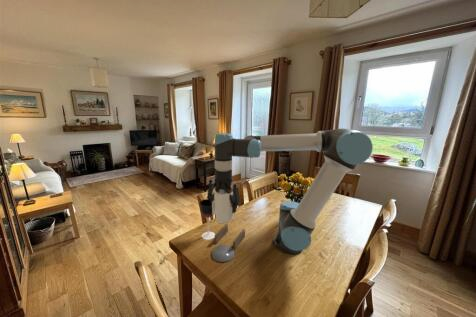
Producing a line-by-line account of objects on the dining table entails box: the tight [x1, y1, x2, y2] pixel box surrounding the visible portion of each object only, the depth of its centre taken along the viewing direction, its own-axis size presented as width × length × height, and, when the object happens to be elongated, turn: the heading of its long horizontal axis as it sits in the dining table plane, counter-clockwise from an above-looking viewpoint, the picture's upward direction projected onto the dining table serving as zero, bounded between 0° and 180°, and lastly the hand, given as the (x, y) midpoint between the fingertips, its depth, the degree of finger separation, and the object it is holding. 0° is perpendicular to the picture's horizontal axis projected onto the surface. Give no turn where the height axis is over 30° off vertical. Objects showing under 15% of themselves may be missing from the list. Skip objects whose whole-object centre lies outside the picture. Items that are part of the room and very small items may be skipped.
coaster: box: [211, 244, 235, 263], centre depth 92 cm, size 11×11×1 cm
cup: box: [213, 189, 234, 225], centre depth 87 cm, size 7×7×15 cm
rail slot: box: [214, 223, 246, 251], centre depth 102 cm, size 12×12×4 cm
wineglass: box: [199, 198, 216, 241], centre depth 104 cm, size 8×9×20 cm
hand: (223, 216), depth 88 cm, fingers closed on cup, 9 cm apart
